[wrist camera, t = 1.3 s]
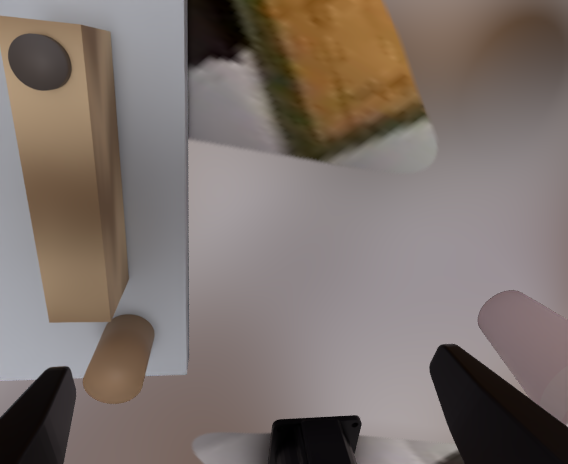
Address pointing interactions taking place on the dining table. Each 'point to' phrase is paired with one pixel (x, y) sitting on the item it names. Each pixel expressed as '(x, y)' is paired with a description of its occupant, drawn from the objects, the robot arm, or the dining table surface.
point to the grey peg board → (137, 211)
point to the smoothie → (530, 347)
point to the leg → (69, 162)
